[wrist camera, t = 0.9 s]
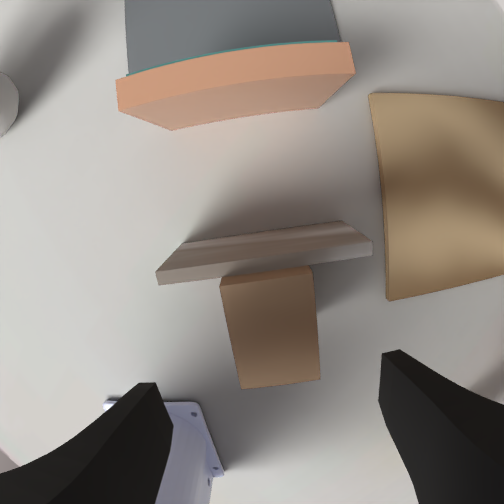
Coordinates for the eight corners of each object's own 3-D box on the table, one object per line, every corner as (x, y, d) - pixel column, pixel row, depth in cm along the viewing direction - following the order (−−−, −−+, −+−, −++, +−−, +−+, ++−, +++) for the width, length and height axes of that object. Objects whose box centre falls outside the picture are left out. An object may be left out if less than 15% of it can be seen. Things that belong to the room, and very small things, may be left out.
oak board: (516, 266, 18) (521, 269, 17) (385, 297, 18) (389, 301, 18) (511, 105, 14) (516, 104, 14) (368, 95, 15) (371, 93, 15)
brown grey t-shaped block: (347, 311, 19) (379, 367, 13) (201, 331, 19) (182, 392, 13) (342, 220, 17) (381, 247, 11) (182, 243, 18) (147, 280, 12)
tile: (318, 108, 16) (355, 73, 9) (171, 130, 16) (118, 111, 9) (313, 84, 15) (347, 37, 8) (168, 107, 16) (115, 75, 9)
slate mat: (348, 79, 15) (349, 78, 15) (134, 112, 16) (132, 111, 15) (311, -51, 12) (312, -52, 12) (125, -20, 13) (124, -21, 13)
